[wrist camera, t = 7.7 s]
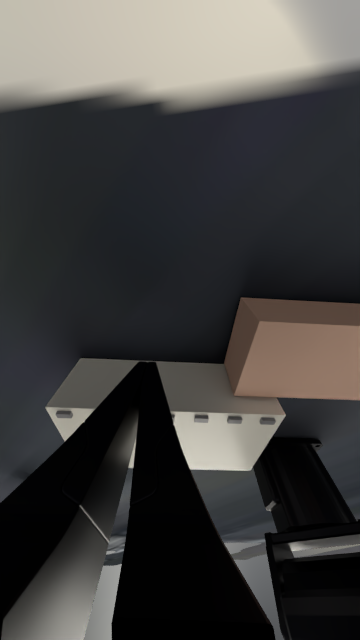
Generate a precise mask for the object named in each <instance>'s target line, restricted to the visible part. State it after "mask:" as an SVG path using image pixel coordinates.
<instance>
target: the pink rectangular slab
mask: <svg viewBox="0 0 360 640" xmlns="http://www.w3.org/2000/svg"><path fill="white" fill-rule="evenodd" d="M224 365H225V368H226V371H227V374H228V377H229V381H230V384H231V387H232V390H233V394H234V396H257V397H284V398H312V399H339V400H360V304H354V303H335V302H316V301H297V300H279V299H260V298H241V299H240V303H239V307H238V310H237V314H236V318H235V322H234V326H233V330H232V334H231V338H230V342H229V346H228V350H227V353H226V357H225V361H224Z"/></svg>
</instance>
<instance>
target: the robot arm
mask: <svg viewBox="0 0 360 640" xmlns="http://www.w3.org/2000/svg"><path fill="white" fill-rule="evenodd" d="M135 440H136V446H135V456H134V466H133V477H132V487H131V498H130V509H129V518H128V527H127V534H126V542H125V548H124V554H123V560H122V566H121V572H120V578H119V584H118V590H117V596H116V602H115V607H114V614H113V619H112V640H275V634H274V629H273V626H272V625H271V623H270V621H269V619H268V618H267V616H266V614H265V612H264V611H263V609H262V607H261V606H260V604H259V602H258V601H257V599H256V597H255V595H254V594H253V592H252V590H251V589H250V587H249V585H248V584H247V582H246V580H245V578H244V577H243V575H242V573H241V572H240V570H239V568H238V567H237V565H236V563H235V561H234V560H233V558H232V556H231V555H230V553H229V551H228V550H227V548H226V546H225V545H224V543H223V541H222V539H221V537H220V535H219V533H218V531H217V529H216V527H215V525H214V523H213V521H212V519H211V517H210V515H209V513H208V510H207V508H206V506H205V503H204V501H203V499H202V496H201V494H200V492H199V489H198V487H197V485H196V482H195V480H194V478H193V475H192V473H191V471H190V468H189V466H188V463H187V461H186V458H185V456H184V453H183V451H182V448H181V445H180V442H179V439H178V436H177V432H176V429H175V426H174V422H173V419H172V415H171V412H170V408H169V405H168V402H167V398H166V395H165V391H164V388H163V384H162V381H161V377H160V374H159V371H158V367H157V364H156V362H148V363H147V362H146V361H139V362H138V363H137V364H136V365H135V366H134V367H133V368H132V369H131V370H130V372H129V373H128V374H127V375H126V376H125V377H124V378H123V379H122V380H121V381H120V382H119V384H118V385H117V386H116V387H115V388H114V389H113V390H112V391H111V392H110V393H109V395H108V396H107V397H106V398H105V399H104V400H103V401H102V402H101V403H100V404H99V405H98V407H97V408H96V409H95V410H94V411H93V412H92V413H91V414H90V415H89V416H88V418H87V419H86V420H85V422H83V423H82V424H81V425H80V426H79V427H78V428H77V429H76V431H75V432H74V433H73V434H72V435H71V436H70V437H69V438H68V439H67V440H66V441H65V442H64V443H63V444H62V445H61V446H60V447H59V448H58V449H57V450H56V451H55V452H54V453H53V454H52V455H51V456H50V457H49V458H48V459H47V460H46V461H45V462H44V463H43V464H42V465H41V466H39V467H38V468H37V469H36V470H35V471H34V472H33V473H32V474H31V475H30V476H29V477H28V478H27V479H26V480H25V481H23V482H22V483H21V484H20V485H19V486H18V487H17V488H16V489H15V490H14V491H13V492H12V493H11V494H10V495H9V496H8V497H6V498H5V499H4V500H3V501H2V502H1V503H0V640H84V636H85V632H86V628H87V624H88V621H89V617H90V613H91V609H92V605H93V602H94V597H95V594H96V590H97V586H98V582H99V578H100V575H101V571H102V567H103V563H104V559H105V555H106V551H107V548H108V542H109V540H110V536H111V532H112V528H113V524H114V521H115V517H116V513H117V509H118V505H119V501H120V497H121V494H122V490H123V486H124V482H125V478H126V474H127V470H128V467H129V463H130V459H131V455H132V451H133V447H134V443H135ZM322 446H323V445H322V443H321V442H320V440H306V439H272V438H271V439H270V441H269V442H268V444H267V446H266V447H265V449H264V450H263V452H262V453H261V455H260V456H259V458H258V459H257V461H256V463H255V464H254V466H253V468H254V472H255V475H256V478H257V482H258V485H259V489H260V492H261V495H262V499H263V502H264V505H265V508H266V509H267V510H268V511H271V513H272V516H273V519H274V523H275V526H276V529H277V532H278V533H270V532H269V533H265V540H266V550H267V556H268V562H269V567H270V572H271V578H272V584H273V589H274V595H275V601H276V606H277V612H278V617H279V624H280V629H281V633H282V635H283V638H284V640H360V552H356V553H346V554H335V555H324V556H313V557H302V558H294V556H293V554H292V551H298V550H307V549H317V548H325V547H335V546H344V545H354V544H360V519H358V521H356V519H355V517H354V516H353V514H352V512H351V510H350V509H349V507H348V505H347V504H346V502H345V500H344V499H343V497H342V495H341V493H340V492H339V490H338V488H337V487H336V485H335V483H334V482H333V480H332V478H331V476H330V475H329V473H328V471H327V470H326V468H325V466H324V465H323V463H322V461H321V459H320V458H319V456H318V454H317V453H316V452H317V451H318V450H319V449H320V448H321V447H322Z"/></svg>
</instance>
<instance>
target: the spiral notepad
mask: <svg viewBox="0 0 360 640" xmlns="http://www.w3.org/2000/svg"><path fill="white" fill-rule="evenodd" d="M138 362H139V361H138V360H114V359H90V358H80V360H79V361H78V362H77V364H76V365H75V367H74V368H73V369H72V371H71V372H70V373H69V375H68V376H67V378H66V379H65V380H64V382H63V383H62V385H61V386H60V387H59V389H58V390H57V391H56V393H55V394H54V396H53V397H52V398H51V400H50V401H49V403H48V404H47V405H46V407H45V408H46V410H47V411H48V413H49V415H50V417H51V418H52V420H53V422H54V424H55V425H56V427H57V429H58V430H59V432H60V434H61V436H62V437H63V439H64V441H66V440H67V439H68V438H69V437H70V436H71V435H72V434H73V433H74V432H75V431H76V429H77V428H78V427H79V426H80V425H81V424H82V423H83V422H85V420H86V419H87V418H88V416H89V415H90V414H91V413H92V412H93V411H94V410H95V409H96V408H97V407H98V405H99V404H100V403H101V402H102V401H103V400H104V399H105V398H106V397H107V396H108V395H109V393H110V392H111V391H112V390H113V389H114V388H115V387H116V386H117V385H118V384H119V382H120V381H121V380H122V379H123V378H124V377H125V376H126V375H127V374H128V373H129V372H130V370H131V369H132V368H133V367H134V366H135V365H136V364H137V363H138ZM146 362H147V363H148V362H156V364H157V367H158V371H159V374H160V377H161V381H162V384H163V388H164V391H165V395H166V398H167V402H168V405H169V408H170V412H171V415H172V419H173V422H174V426H175V429H176V432H177V436H178V439H179V442H180V445H181V448H182V451H183V453H184V456H185V458H186V461H187V463H188V466H189V468H190V469H197V470H239V471H250V470H251V469H252V467H253V466H254V464H255V463H256V461H257V459H258V458H259V456H260V455H261V453H262V452H263V450H264V449H265V447H266V446H267V444H268V442H269V441H270V439H271V438H272V436H273V435H274V433H275V432H276V430H277V428H278V427H279V425H280V424H281V422H282V421H283V419H284V418H285V416H286V414H285V412H284V411H283V409H282V407H281V405H280V403H279V401H278V400H277V398H276V397H257V396H234V394H233V390H232V387H231V384H230V381H229V377H228V374H227V371H226V368H225V365H224V364H210V363H186V362H162V361H146ZM135 446H136V440H135V443H134V447H133V451H132V455H131V459H130V463H129V467H128V468H133V466H134V456H135Z"/></svg>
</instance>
